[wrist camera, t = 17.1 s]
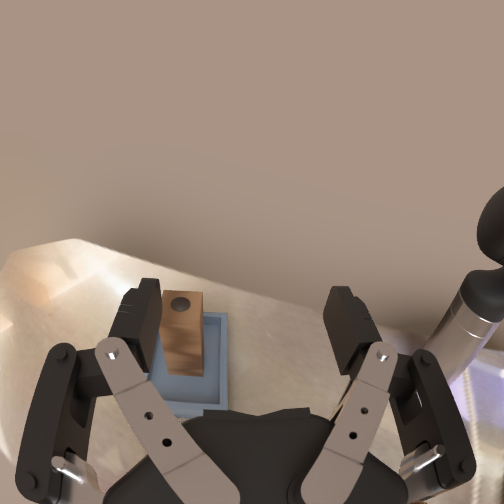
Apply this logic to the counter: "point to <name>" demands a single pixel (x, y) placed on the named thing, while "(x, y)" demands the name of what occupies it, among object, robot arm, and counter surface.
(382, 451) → the counter surface
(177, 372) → the walnut block
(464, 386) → the counter surface
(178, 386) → the slate tray
